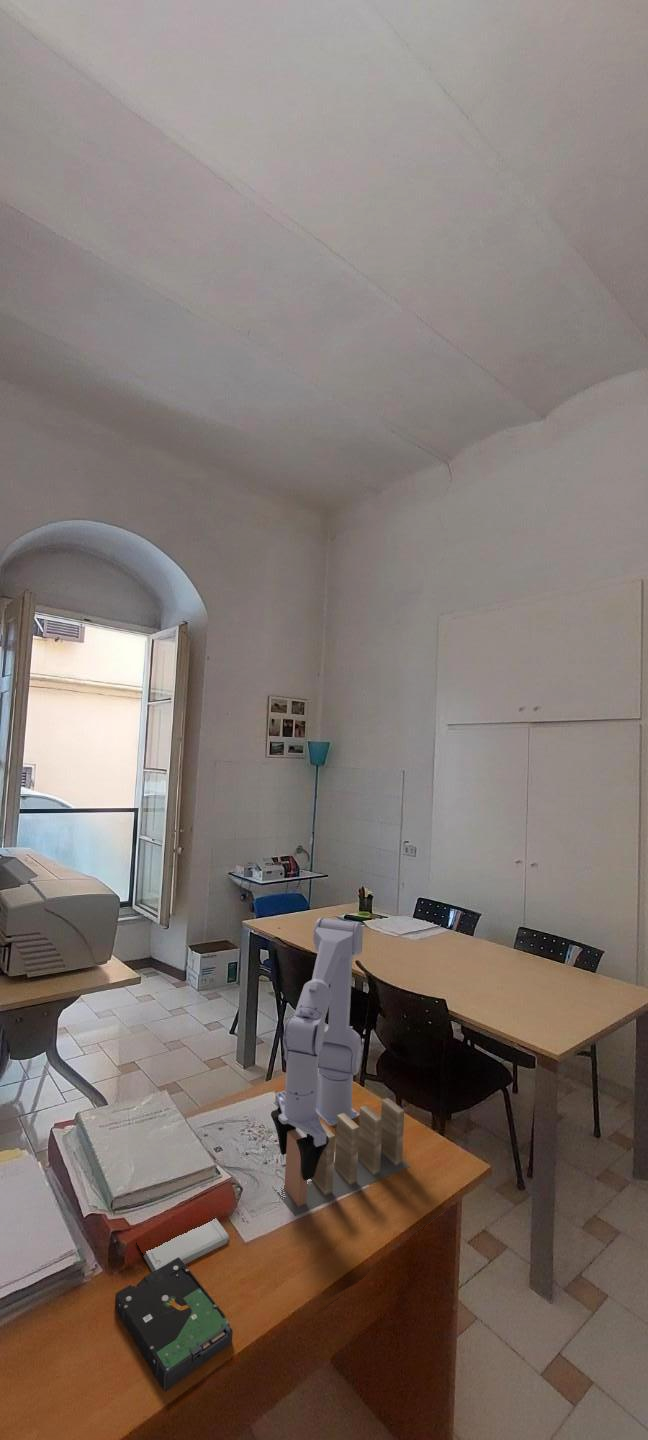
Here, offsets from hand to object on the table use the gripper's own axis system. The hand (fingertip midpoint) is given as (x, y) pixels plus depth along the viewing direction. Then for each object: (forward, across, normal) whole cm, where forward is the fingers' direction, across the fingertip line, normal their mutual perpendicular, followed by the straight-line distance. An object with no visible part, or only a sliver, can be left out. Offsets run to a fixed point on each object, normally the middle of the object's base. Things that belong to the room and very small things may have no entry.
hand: (297, 1164), depth 111 cm
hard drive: (+7, 0, -21) cm, 22 cm away
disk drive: (+6, +12, -27) cm, 31 cm away
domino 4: (+5, 0, +16) cm, 17 cm away
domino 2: (+5, 0, +6) cm, 8 cm away
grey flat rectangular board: (+6, 0, +10) cm, 12 cm away
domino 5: (+5, 0, +22) cm, 23 cm away
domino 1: (+5, 0, 0) cm, 5 cm away
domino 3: (+5, 0, +11) cm, 12 cm away
